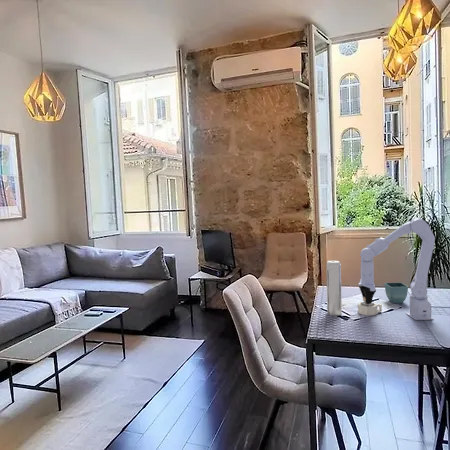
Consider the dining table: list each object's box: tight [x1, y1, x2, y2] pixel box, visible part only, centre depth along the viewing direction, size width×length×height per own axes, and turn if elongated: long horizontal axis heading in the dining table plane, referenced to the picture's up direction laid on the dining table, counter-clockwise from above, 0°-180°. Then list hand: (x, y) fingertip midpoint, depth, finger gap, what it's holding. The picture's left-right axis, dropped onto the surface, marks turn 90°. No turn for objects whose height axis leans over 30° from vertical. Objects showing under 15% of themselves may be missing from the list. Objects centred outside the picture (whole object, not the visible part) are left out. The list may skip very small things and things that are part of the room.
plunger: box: [361, 296, 374, 306], centre depth 186 cm, size 5×5×6 cm
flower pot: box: [384, 281, 409, 304], centre depth 201 cm, size 9×9×9 cm
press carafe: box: [357, 301, 383, 316], centre depth 186 cm, size 8×10×4 cm
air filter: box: [326, 260, 343, 317], centre depth 185 cm, size 6×6×25 cm
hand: (367, 302), depth 186 cm, fingers closed on plunger, 3 cm apart
